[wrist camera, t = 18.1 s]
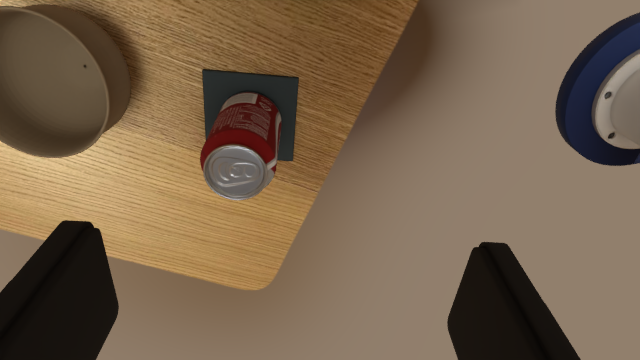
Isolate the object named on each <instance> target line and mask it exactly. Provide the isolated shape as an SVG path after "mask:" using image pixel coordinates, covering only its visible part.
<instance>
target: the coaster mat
mask: <svg viewBox="0 0 640 360" xmlns="http://www.w3.org/2000/svg"><path fill="white" fill-rule="evenodd" d="M202 72H203V92H204V112H205V131H206V140H207V138H208V135H209V133H210V131H211V129H212V127H213V125H214V123H215V120H216V118H217V116H218V114H219V112H220V110H221V108H222V106H223V104H224V103H225V102H226V100H227V99H229V98H230V97H231V96H233V95H235V94H238V93H241V92H255V93H259V94H261V95H264V96H265V97H267V98H268V99H270V100H271V101H272V102H273V103H274V104H275V105H276V107H277V109H278V110H279V113H280V116H281V132H280V140H279V148H278V156H277V160H282V161H293V149H294V135H295V121H296V107H297V93H298V79H299V78H298V77H288V76H277V75H265V74H253V73H242V72H230V71H218V70H207V69H203V71H202Z"/></svg>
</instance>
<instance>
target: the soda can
mask: <svg viewBox="0 0 640 360" xmlns="http://www.w3.org/2000/svg"><path fill="white" fill-rule="evenodd" d="M280 132H281V116H280V113H279V110H278V109H277V107H276V105H275V104H274V103H273V102H272V101H271V100H270V99H268V98H267V97H265V96H264V95H261V94H259V93H255V92H241V93H238V94H235V95H233V96H231V97H230V98H229V99H227V100H226V102H225V103H224V104H223V106H222V108H221V110H220V112H219V114H218V116H217V118H216V120H215V123H214V125H213V127H212V129H211V131H210V133H209V135H208V138H207V140H206V142H205V144H204V146H203V148H202V151H201V157H200V162H201V168H202V171H203V173H204V178H205V180H206V183H207V184H208V186H209V187H210V188H211V189H212V190H213V191H214V192H215V193H217V194H218V195H220V196H222V197H224V198H227V199H231V200H245V199H249V198H252V197H254V196H256V195H257V194H259V193H260V192H261V191H262V190H263V188H265V187H266V186H267V185H268V184H269V183H270V182H271V180H272V179H273V177H274V174H275V171H276V165H277V156H278V148H279V140H280Z"/></svg>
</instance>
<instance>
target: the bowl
mask: <svg viewBox="0 0 640 360" xmlns="http://www.w3.org/2000/svg"><path fill="white" fill-rule="evenodd" d="M130 95H131V79H130V74H129V70H128V66H127V64H126V61H125V59H124V57H123V54H122V53H121V51H120V49H119V48H118V46H117V45H116V43H115V42H114V41H113V39H112V38H111V37H110V36H109V35H108V34H107V33H106V32H105V31H104V30H103V29H102V28H101V27H100V26H99V25H97V24H96V23H95V22H94V21H92V20H91V19H89V18H88V17H86V16H84V15H82V14H80V13H78V12H76V11H74V10H71V9H68V8H64V7H60V6H55V5H32V6H26V7H13V6H0V141H2V142H3V143H5V144H7V145H9V146H10V147H12V148H15V149H17V150H19V151H22V152H24V153H27V154H31V155H34V156H39V157H47V158H61V157H68V156H72V155H75V154H78V153H81V152H83V151H85V150H86V149H88V148H89V147H91V146H92V145H93V144H94V143H95V142H96V141H97V140H98V139H99V138H100V136H101V135H102V133H104V132H106V131H107V130H109V129H110V128H111V127H113V126H114V125H115V124H116V123H117V122H118V121H119V120H120V119H121V117H122V116H123V114H124V112H125V111H126V109H127V106H128V104H129V100H130Z"/></svg>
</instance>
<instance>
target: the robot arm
mask: <svg viewBox="0 0 640 360" xmlns="http://www.w3.org/2000/svg"><path fill="white" fill-rule="evenodd" d="M591 116H592V123H593V126H594V129H595V131H596V132H597V133H598V135H599V136H600V137H601V138H603V139H604V140H605V141H606V142H608V143H610V144H611V145H613V146H616V147H619V148H625V149H637V148H640V49H639V50H637V51H635V52H634V53H632V54H630V55H629V56H627V57H626V58H625V59H623V60H622V61H621V62H620V63H619V64H617V65H616V66H615V67H614V68H613V69H612V71H611V72H610V73H609V74H608V75H607V76H606V78H605V79H604V81H603V82H602V83H601V85H600V87H599V89H598V91H597V93H596V95H595V98H594V101H593V104H592V112H591ZM118 307H119V306H118V300H117V297H116V293H115V288H114V284H113V280H112V276H111V272H110V268H109V264H108V260H107V256H106V252H105V248H104V243H103V239H102V235H101V232H100V230H99V229H98V228H94V226H93V224H92V223H91V222H86V221H67V220H65V221H62V222H61V223H60V224H59V225H58V226H57V227H56V229H55V230H54V231H53V232H52V233H51V234H50V236H49V237H48V238H47V239H46V240H45V242H44V243H43V244H42V245H41V246H40V247H39V249H38V250H37V251H36V252H35V253H34V254H33V256H32V257H31V258H30V259H29V261H27V263H26V264H25V265H24V266H23V267H22V269H21V270H20V271H19V272H18V273H17V274H16V276H15V277H14V278H13V279H12V280H11V281H10V282H9V283H8V284H7V285H6V287H5V288H4V289H3V290H2V291H1V292H0V360H96V358H97V356H98V354H99V352H100V350H101V348H102V346H103V344H104V342H105V340H106V338H107V336H108V334H109V332H110V330H111V328H112V326H113V324H114V322H115V320H116V318H117V315H118ZM448 331H449V334H450V337H451V340H452V343H453V346H454V349H455V352H456V354H457V357H458V360H580V358H579V357H578V355H577V353H576V352H575V350H574V348H573V347H572V345H571V344H570V342H569V340H568V339H567V337H566V336H565V334H564V333H563V331H562V329H561V328H560V326H559V324H558V323H557V322H556V320H555V318H554V317H553V315H552V314H551V312H550V310H549V309H548V307H547V306H546V304H545V303H544V302H543V300H542V299H541V297H540V295H539V294H538V292H537V291H536V289H535V287H534V286H533V284H532V283H531V281H530V279H529V278H528V276H527V275H526V273H525V272H524V270H523V268H522V267H521V265H520V264H519V262H518V260H517V259H516V257H515V256H514V254H513V252H512V251H511V249H510V248H509V246H508V245H507V244H505V243H493V242H482V243H481V244H480V245H479V247H475V248H473V250H472V252H471V255H470V257H469V260H468V263H467V266H466V269H465V271H464V274H463V277H462V280H461V283H460V286H459V288H458V291H457V294H456V297H455V300H454V302H453V305H452V308H451V311H450V314H449V316H448Z"/></svg>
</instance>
